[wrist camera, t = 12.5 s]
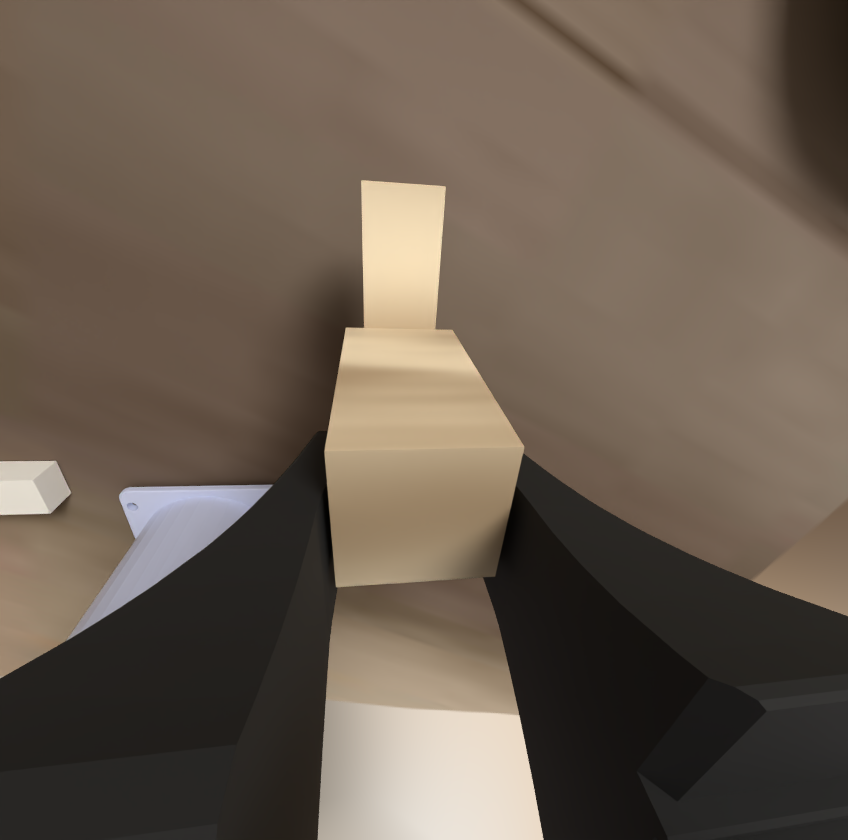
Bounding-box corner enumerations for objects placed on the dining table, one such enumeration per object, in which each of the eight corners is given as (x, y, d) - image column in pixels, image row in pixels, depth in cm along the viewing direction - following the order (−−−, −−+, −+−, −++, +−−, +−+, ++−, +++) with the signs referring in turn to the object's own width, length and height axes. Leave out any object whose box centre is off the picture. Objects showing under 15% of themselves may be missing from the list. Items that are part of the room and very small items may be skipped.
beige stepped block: (425, 454, 17) (473, 674, 9) (355, 456, 16) (344, 686, 9) (445, 189, 12) (584, 179, 4) (346, 182, 11) (299, 157, 4)
